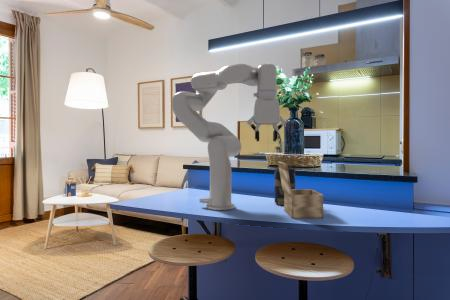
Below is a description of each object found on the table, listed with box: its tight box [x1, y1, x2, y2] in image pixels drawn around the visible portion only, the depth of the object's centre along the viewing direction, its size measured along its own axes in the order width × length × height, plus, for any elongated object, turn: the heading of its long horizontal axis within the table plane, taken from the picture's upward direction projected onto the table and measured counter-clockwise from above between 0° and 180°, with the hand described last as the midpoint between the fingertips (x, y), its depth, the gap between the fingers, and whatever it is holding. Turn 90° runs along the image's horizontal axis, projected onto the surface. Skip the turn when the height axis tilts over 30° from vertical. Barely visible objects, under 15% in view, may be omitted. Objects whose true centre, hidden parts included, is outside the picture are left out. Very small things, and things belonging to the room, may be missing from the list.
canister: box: [274, 165, 296, 206], centre depth 151 cm, size 10×10×18 cm
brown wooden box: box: [283, 188, 324, 219], centre depth 131 cm, size 12×14×9 cm
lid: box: [277, 161, 292, 195], centre depth 130 cm, size 12×14×1 cm
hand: (266, 140), depth 130 cm, fingers open, 6 cm apart
